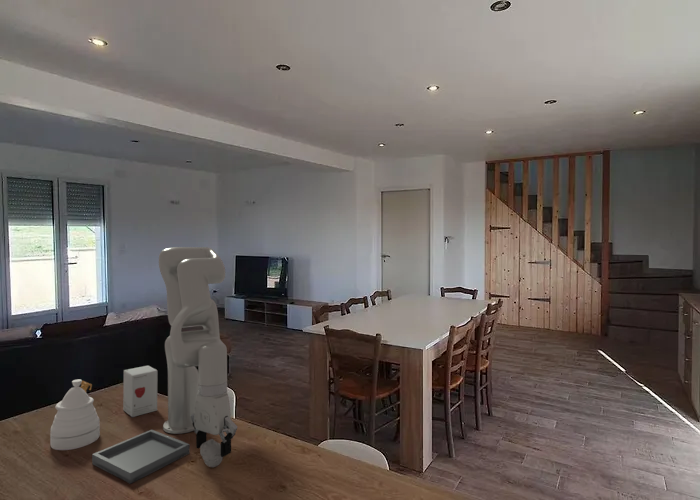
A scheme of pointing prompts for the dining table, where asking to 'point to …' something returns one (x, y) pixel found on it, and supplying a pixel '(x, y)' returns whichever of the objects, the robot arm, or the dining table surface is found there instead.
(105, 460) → the tray
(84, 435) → the honey pot
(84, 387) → the figurine
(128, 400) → the supplement box
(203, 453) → the frog figurine
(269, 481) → the dining table surface
